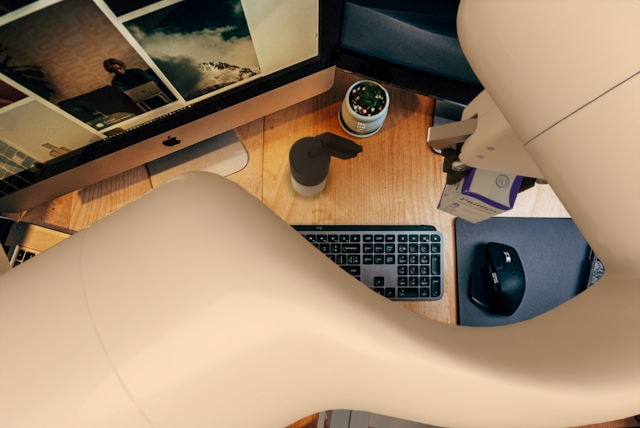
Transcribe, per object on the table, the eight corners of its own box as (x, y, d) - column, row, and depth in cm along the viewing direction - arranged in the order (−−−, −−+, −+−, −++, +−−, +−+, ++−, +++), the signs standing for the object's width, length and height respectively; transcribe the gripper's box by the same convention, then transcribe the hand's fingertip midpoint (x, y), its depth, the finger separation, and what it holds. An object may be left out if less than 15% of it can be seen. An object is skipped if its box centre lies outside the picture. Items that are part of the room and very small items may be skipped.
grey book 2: (340, 406, 53) (348, 432, 44) (349, 343, 55) (359, 355, 45) (355, 409, 53) (366, 436, 44) (364, 346, 55) (377, 358, 45)
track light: (309, 199, 84) (397, 180, 71) (237, 185, 72) (327, 159, 59) (308, 166, 85) (395, 141, 72) (237, 147, 73) (326, 113, 60)
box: (458, 142, 47) (493, 110, 38) (497, 158, 47) (541, 129, 38) (434, 209, 45) (465, 190, 37) (474, 226, 45) (515, 211, 37)
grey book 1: (324, 403, 53) (328, 429, 44) (334, 341, 55) (340, 352, 45) (339, 406, 53) (347, 432, 44) (349, 343, 55) (359, 355, 45)
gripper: (757, 53, 25) (568, 152, 43) (468, 5, 25) (398, 124, 43) (761, 177, 24) (564, 226, 42) (456, 127, 24) (389, 198, 42)
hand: (481, 174), depth 42 cm, fingers closed on box, 5 cm apart
